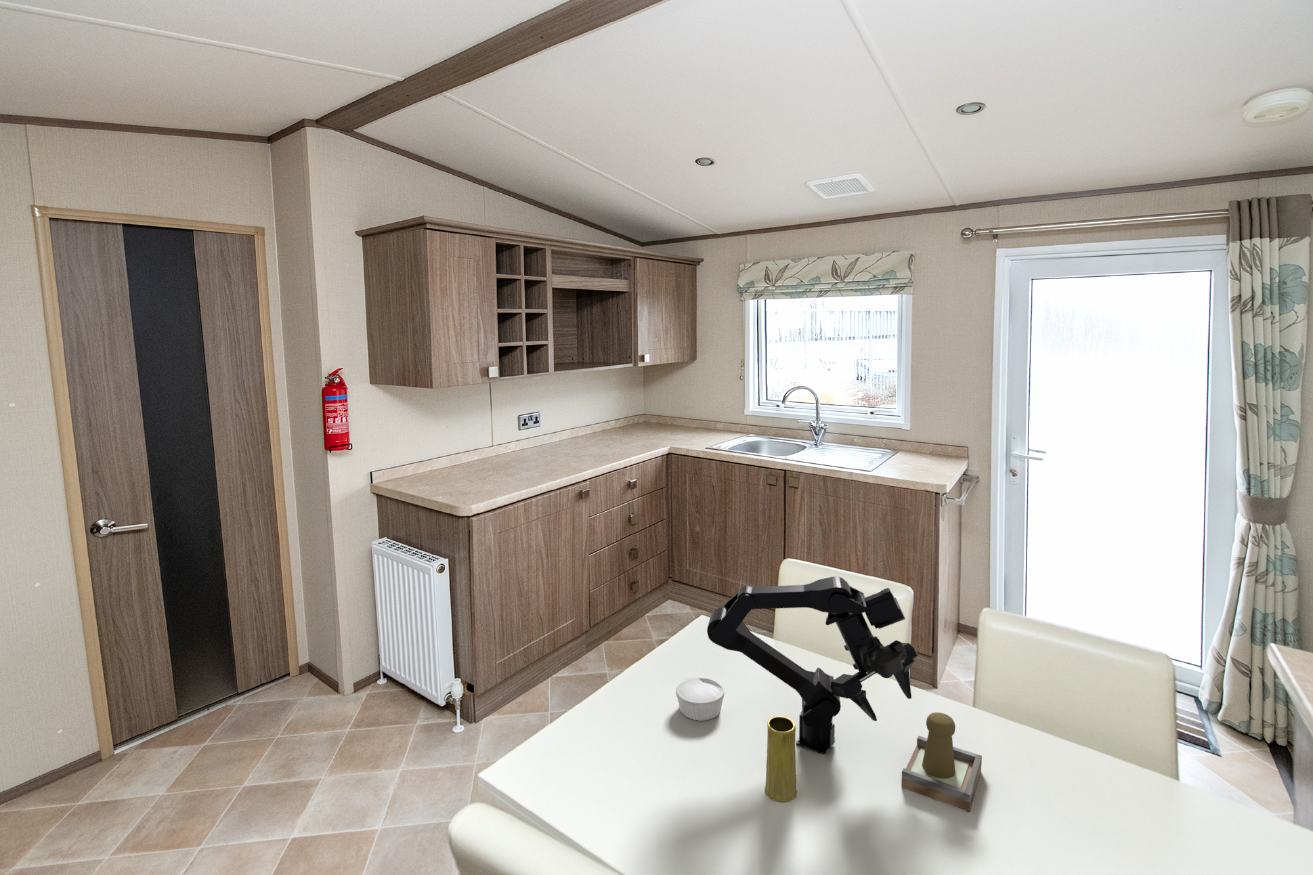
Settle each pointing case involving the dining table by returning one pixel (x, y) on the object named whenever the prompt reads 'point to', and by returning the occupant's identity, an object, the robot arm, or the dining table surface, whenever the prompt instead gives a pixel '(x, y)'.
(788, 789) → the vase
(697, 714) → the ramekin
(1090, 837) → the dining table surface
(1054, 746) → the dining table surface
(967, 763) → the wooden tray
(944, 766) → the olive domed stopper
